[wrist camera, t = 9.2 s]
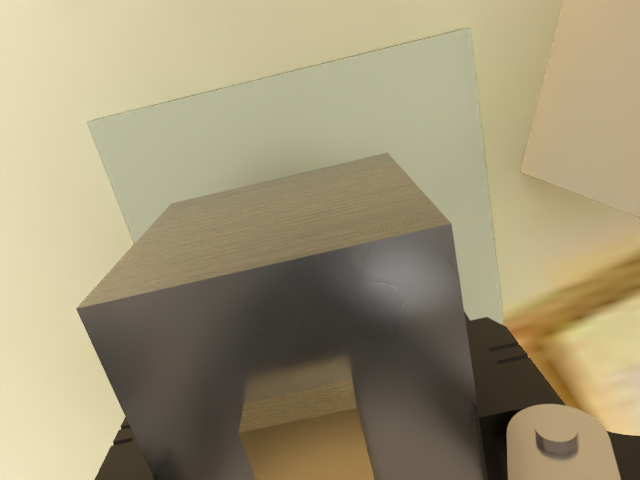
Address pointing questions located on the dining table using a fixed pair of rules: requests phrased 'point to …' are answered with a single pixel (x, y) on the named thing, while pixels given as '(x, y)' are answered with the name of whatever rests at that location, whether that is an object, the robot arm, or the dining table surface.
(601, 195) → the milk
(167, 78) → the dining table surface
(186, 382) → the lever cap
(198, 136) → the mat
